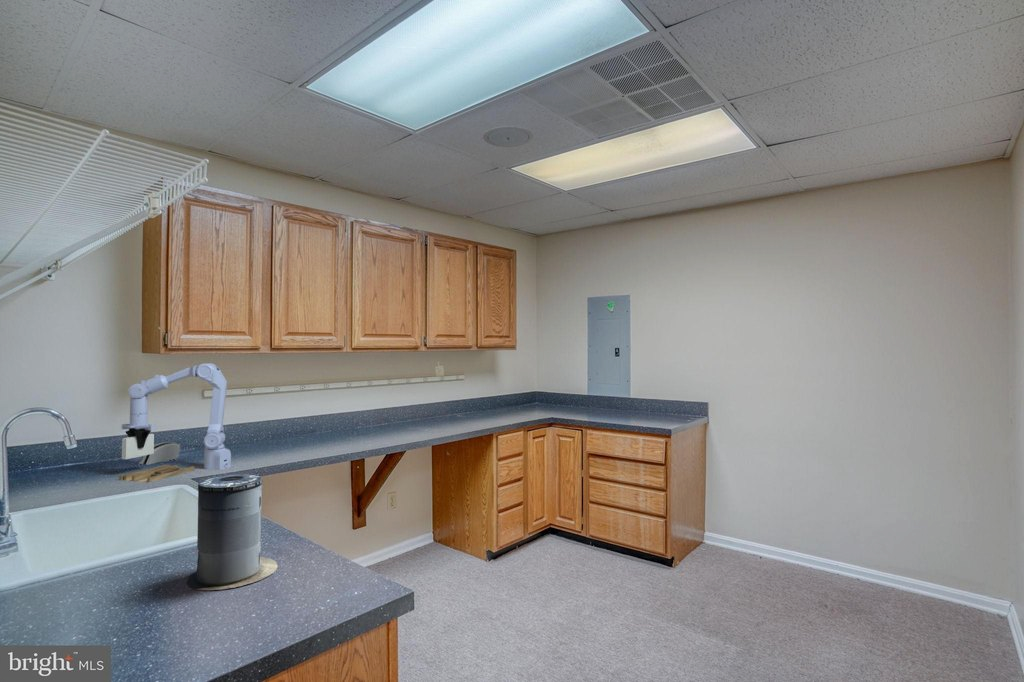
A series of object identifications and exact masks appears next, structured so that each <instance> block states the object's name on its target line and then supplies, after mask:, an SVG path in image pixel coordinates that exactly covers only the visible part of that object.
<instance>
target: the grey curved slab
mask: <svg viewBox="0 0 1024 682" xmlns="http://www.w3.org/2000/svg"><path fill="white" fill-rule="evenodd" d="M180 450H181V445H180V444H179V443H176V442H172V441H163V442H159V443H154V454H149V455H145V456H142V460H141V461H139V462H138V464H137V466H138V465H140V466H143V465H153V464H157V463H160V462H161V463H162V462H164V463H165V462H166V461H167V462H170V461H169V460H171V461H173V460H172V459H175V460H177V459H176V458H178V459H179V454H180Z"/></svg>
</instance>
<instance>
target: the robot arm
mask: <svg viewBox="0 0 1024 682" xmlns="http://www.w3.org/2000/svg"><path fill="white" fill-rule="evenodd" d="M186 378H199V379H201V380H204V381H206V382H207V383H208V384H210V385H211V386H212V396H211V405H210V406H211V407H210V415H209V423H208V424H209V425H208V428H207V430H206V432H207V433H206V435H205V437H204V438H203V445H204V448H203V449H204V455H203V456H204V457H203V461H204V464H203V466H204V467H203V469H204V470H208V471H211V470H215V471H217V470H218V471H221V470H222V471H223V470H224V469H228V468H231V466H232V464H231V463H232V453H231V450H230V449H229V448H226V447H225V444H224V442H225V440H226V434H225V431H224V430H225V429H224V416H225V415H224V414H225V407H226V397H227V389H228V388H227V386H228V382H227V379H226V378H225V375H224V374H223V373H222V371H221V368H219V366H217V365H216V364H214V363H211V362H209V363H201V364H198V365H192V366H190V367H187V368H183V369H182V370H179V371H176V372H174V373H171V374H169V375H167V376H165V375H162V374H155V375H153V378H150V379H147V380H145V379H144V380H141V381H140V383H134V384H132V385H130V387H128V389H127V393H128V395H129V397H130V401H129V423H122V424H121V430H126V431H125V434H126V435H127V438H128V437H134V436H136V438H137V447H138V448H144V445H145V441H146V439H147V437H148V435H149V434H151V432H152V431H155V430H156V425H155V424H151V423H150V424H149V423H148V409H149V408H148V403H149V402H148V397H149V395H153V394H155V393H158V392H160V391H162V390H166V389H168V388H169V386H170V384H172V383H175V382H178V381H182V380H183V379H184V380H185V379H186Z"/></svg>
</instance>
